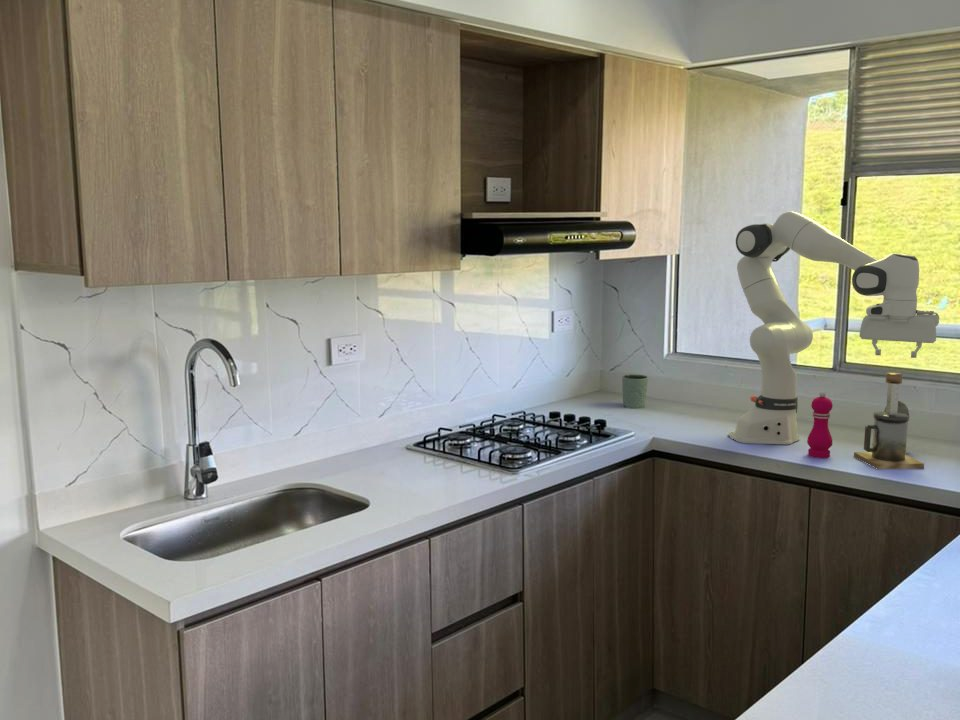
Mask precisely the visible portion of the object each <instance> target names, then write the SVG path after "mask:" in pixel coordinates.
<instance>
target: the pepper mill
mask: <svg viewBox="0 0 960 720" xmlns="http://www.w3.org/2000/svg"><path fill="white" fill-rule="evenodd" d="M826 396H827V395H826V392H824V391H820V392H819V396H817V397H814V399H812V400H811V407H810V408H811V409H812V410H813V412H812V417H813V426H812V428H811V430H810V433H809V434H808V435H807V436H808V437H807V441H806V442H807V445H808V446H809V448H808V451H807V455H808V456H809V457H812V458H816V459H829V458H830V456H831V450H830V448H831V447H832V446H833V436H832V435H831V432H830V429H829V419H831V410H832V409H833V406H834V404H833V402H832V401H833V400H831V399H830V398H829V397H826ZM828 457H829V458H828Z"/></svg>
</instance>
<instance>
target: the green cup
mask: <svg viewBox="0 0 960 720" xmlns="http://www.w3.org/2000/svg"><path fill="white" fill-rule="evenodd" d="M621 379H622V381H621V383H622V385H621V386H622V389H621V390H622V407H624V406H625V407H624V408H626V407H630V408H629V409H642V408H643V407H644V408H645V406H646V400H647V399H646V398H647V389H648V382H649V381H648V380H649V377H648V376H647V375H644V374H635V373H634V374H623V375H622V376H621ZM644 408H643V409H644Z"/></svg>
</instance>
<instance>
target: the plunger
mask: <svg viewBox="0 0 960 720" xmlns="http://www.w3.org/2000/svg"><path fill="white" fill-rule="evenodd" d="M903 376H904V374H903V373H900V372H886V373H885V383H886V384H887V393H886V406H885V407H886V414H889V415H897V409H898V401H899V393H900V384H902V383H903Z"/></svg>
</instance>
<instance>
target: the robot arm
mask: <svg viewBox="0 0 960 720" xmlns="http://www.w3.org/2000/svg"><path fill="white" fill-rule="evenodd" d="M735 247H736V249H737V251H738V252H739V254H741V255H742V256H743V257H741V258H740V260H738V262H737V264H736V270H737V275H738V280H739V283H740V287H741V289H742V290H743V293H744V296H745V299H746V301H747V304H748V306H749V309H750V311H751V312H752V314H753V315H754V316H756V317H758V318H759V319H760V320H761V321H762V323H764V324H762V325H760V326H758V327H755V329H753V331H752V332H751V334H750V336H749V344H750V347H751V350H752V351H753V352H754V354H756V356H757V358H758V361H759V365H760V370H761V393H760V395H759V396H756V395H751V396H750V397H749V398H750V402H753V403H755V404H754V407H752V408H751V409H749V410H748V411H746V412H745V413H744V414H742V415H740V416H739V417H738V419H737V421H736V426H735V429H734V430H730V431H729V432H728V437H729V436H730V437H731V438H730V437H729V438H730V439H731V440H733V439H734V440H733V441H735V440H736V442H739V443H743V444H756V445H757V444H759V445H761V444H762V445H791V444H793V443H795V442H799V440H800V436H799V432H798V423H797V413H798V406H799V404H798V403H799V402H798V397H797V392H798V391H797V390H798V373H797V371H796V370H795V369H794V368H793V365H792V362H791V355H793V354H797V353H801V352H802V351H804V350H806V349H807V348H809V347H810V346H811V344H812V342H813V338H814V335H813V331H812V328H811V327H810V326H809V324H807V323H806V322H804V321H803V320H802V319H800V318H799V316H798V315H797V314H796V313H795V311H793V310H794V309H792V308H791V306H790V305H789V303H788V302H787V300H786V299H785V297H784V294H783V292H782V289H781V288H780V285H779V283H778V280H777V278H776V276H775V274H774V272H773V269H772V262H775V263H776V262H778V261H780V259H781V258H782V257H783V256H784V255H786V254H787V253H788V252H789V251H793V252H795V253H796V254H797V255H799V256H801V257H803V258H805V259H808V260H811V261H812V262H825V263H833V264H839V265H842V266H845V267H848V268H849V269H851V270H853V271H854V272H853V274H852V277H851V283H852V284H851V285H852V287H853V290H854V291H855V292H856V293H858V294H859V295H861V296H866V297H877V296H878V297H881V296H883V302H882V303H876V304H873V305H869V306H868V307H866V309H865V313H866V315H864V317H863V319H862V321H861V324H860V329H859V337H860V339H861V340H871V344H872V347H873V348H874V350H875V353H874V355H875V356H881V354H882V348H879V347H878V346H877V344H878V341H885V342H887V341H888V342H903V343H904V342H905V343H915V344H916V349H915V350H910V358H911V359H917V354H918V352H919V351H920V349H921V348H922V346H923V344H934V343H935V342H936V341H937V327H938V325H939V323H940V315H939V314H938V313H937V312H934V310H922V309H919V310H918V308H917V305H918V296H917V290H918V288H919V285H920V284H919V283H920V263H919V260H918V258H917V257H916V256H914V255H913V254H910V253H909V254H908V253H904V252H891V253H889V254H888V255H886V256H885V257H883V258H882V259H879V258H877V257H875V256H873V255H872V254H870V253H868V252H866V251H864V250H862V249H860V248H858V247H857V246H856V245H853V244H851V243H849V242H847V241H846V240H845V239H842V237H840V236H838V235H836V234H835V233H834V232H832V231H831V230H829V229H827V227H825V226H823V225H822V224H820V223H818V221H815V220H813V219H812V218H810V217H807V216H805V215H804V214H801V213H798V212H795V211H785V212H784V213H782V214H780V215H779V216H778V218H776V220H775V221H774V223H761V224H756V223H755V224H750V225H747V226H744V227H743V228H741V229H740V230H739V231H738V233H737V234H736V237H735Z"/></svg>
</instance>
